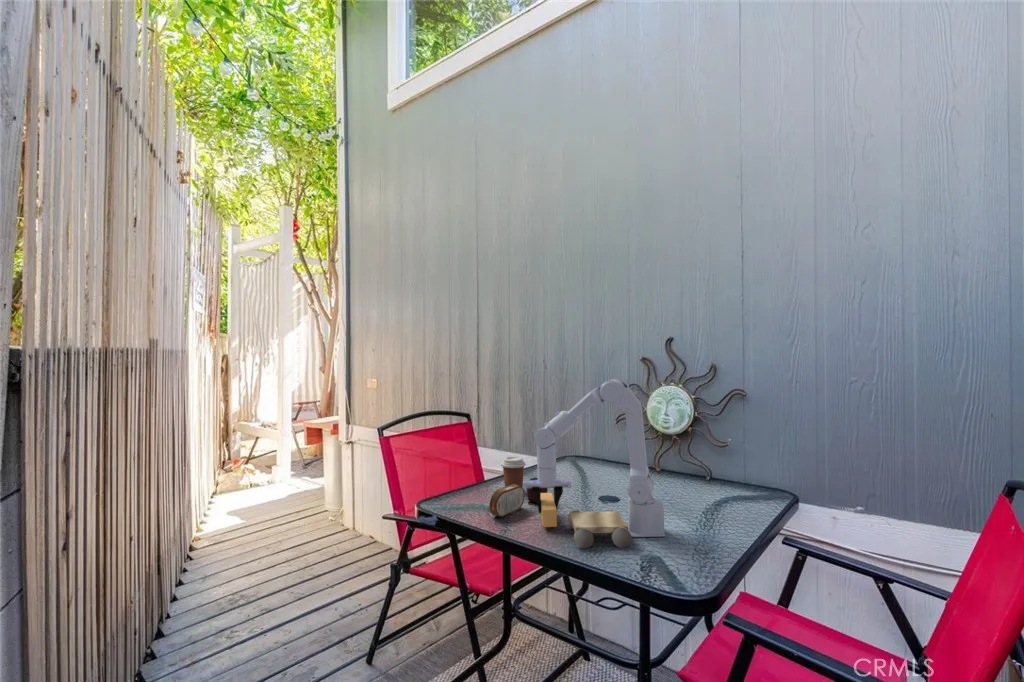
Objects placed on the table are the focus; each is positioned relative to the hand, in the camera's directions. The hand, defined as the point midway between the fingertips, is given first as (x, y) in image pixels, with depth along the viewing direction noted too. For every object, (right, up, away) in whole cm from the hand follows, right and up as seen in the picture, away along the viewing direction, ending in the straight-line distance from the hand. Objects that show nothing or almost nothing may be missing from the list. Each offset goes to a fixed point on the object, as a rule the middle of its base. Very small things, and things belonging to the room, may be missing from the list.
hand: (547, 511), depth 148 cm
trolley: (+13, -3, -13) cm, 19 cm away
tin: (-12, -4, +8) cm, 15 cm away
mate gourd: (-2, -3, +18) cm, 18 cm away
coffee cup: (-10, -4, +32) cm, 34 cm away
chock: (0, -2, 0) cm, 2 cm away
